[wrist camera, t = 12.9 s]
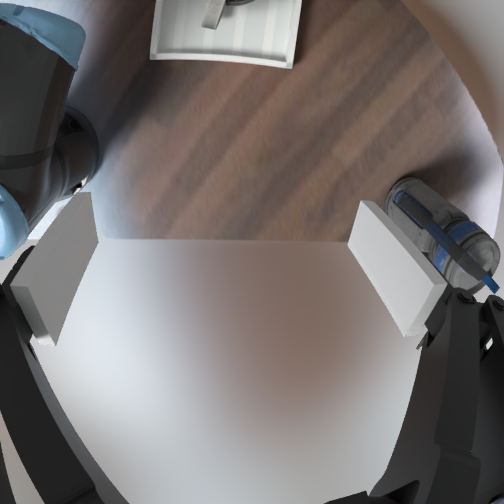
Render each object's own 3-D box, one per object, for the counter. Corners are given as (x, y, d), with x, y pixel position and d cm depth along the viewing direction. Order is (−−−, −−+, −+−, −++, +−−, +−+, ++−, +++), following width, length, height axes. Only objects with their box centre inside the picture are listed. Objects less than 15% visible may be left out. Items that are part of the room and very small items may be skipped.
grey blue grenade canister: (394, 158, 47) (493, 234, 27) (434, 191, 52) (518, 267, 31) (363, 203, 52) (443, 298, 31) (406, 230, 56) (478, 316, 36)
